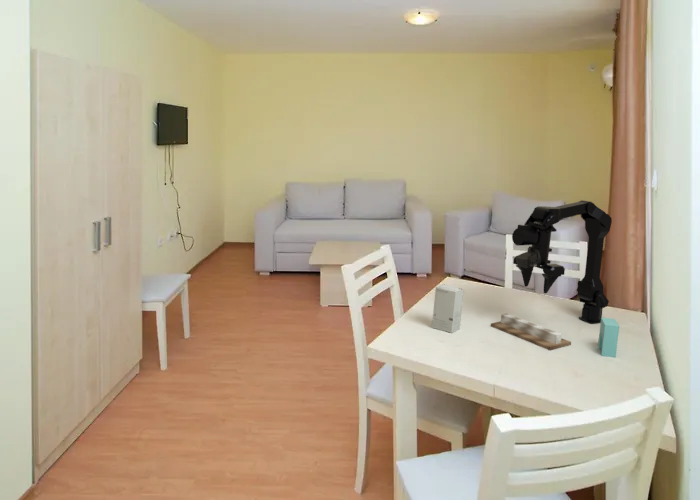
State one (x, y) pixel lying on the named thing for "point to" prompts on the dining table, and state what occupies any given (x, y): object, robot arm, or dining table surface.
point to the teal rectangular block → (608, 337)
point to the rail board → (530, 337)
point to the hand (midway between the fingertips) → (535, 289)
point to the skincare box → (447, 308)
